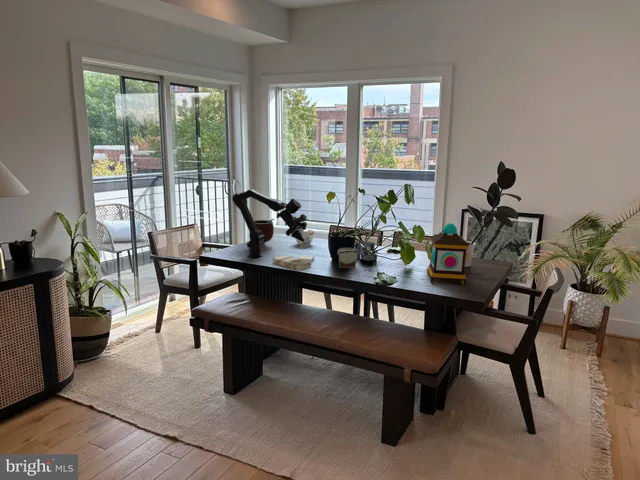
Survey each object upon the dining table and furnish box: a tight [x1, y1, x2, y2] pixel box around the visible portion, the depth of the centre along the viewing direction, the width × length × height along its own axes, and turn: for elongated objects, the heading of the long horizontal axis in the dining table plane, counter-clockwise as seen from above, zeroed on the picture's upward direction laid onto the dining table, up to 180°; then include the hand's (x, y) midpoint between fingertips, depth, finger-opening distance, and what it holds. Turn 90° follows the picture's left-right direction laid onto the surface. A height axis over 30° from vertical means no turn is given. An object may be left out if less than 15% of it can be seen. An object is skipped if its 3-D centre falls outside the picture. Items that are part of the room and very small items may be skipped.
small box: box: [354, 240, 376, 261], centre depth 284 cm, size 11×6×10 cm, turn 62°
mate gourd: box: [254, 218, 275, 251], centre depth 303 cm, size 16×14×20 cm
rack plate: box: [272, 254, 312, 271], centre depth 268 cm, size 20×10×3 cm, turn 49°
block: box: [298, 254, 315, 264], centre depth 278 cm, size 8×8×2 cm
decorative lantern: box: [426, 222, 469, 286], centre depth 246 cm, size 20×20×30 cm
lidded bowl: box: [294, 229, 315, 247], centre depth 317 cm, size 13×13×11 cm
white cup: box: [297, 229, 311, 249], centre depth 270 cm, size 7×7×10 cm
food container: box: [336, 247, 359, 269], centre depth 268 cm, size 12×6×10 cm, turn 108°
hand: (306, 240), depth 270 cm, fingers closed on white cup, 7 cm apart
